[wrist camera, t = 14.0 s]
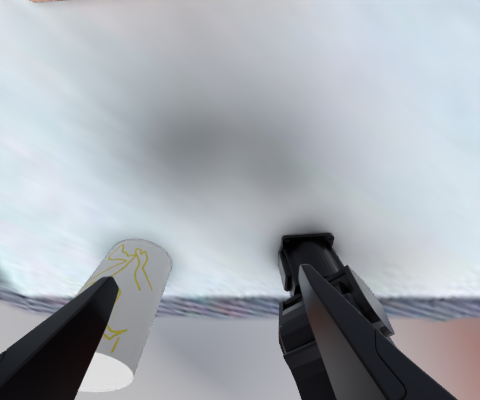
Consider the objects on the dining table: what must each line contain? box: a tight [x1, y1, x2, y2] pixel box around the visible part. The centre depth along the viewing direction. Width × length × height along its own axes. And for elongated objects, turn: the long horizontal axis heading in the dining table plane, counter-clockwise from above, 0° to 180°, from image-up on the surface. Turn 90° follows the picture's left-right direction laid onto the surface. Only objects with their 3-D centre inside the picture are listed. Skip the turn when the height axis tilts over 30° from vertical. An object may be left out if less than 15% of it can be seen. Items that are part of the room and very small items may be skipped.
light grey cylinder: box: [75, 239, 172, 392], centre depth 22 cm, size 8×8×12 cm
